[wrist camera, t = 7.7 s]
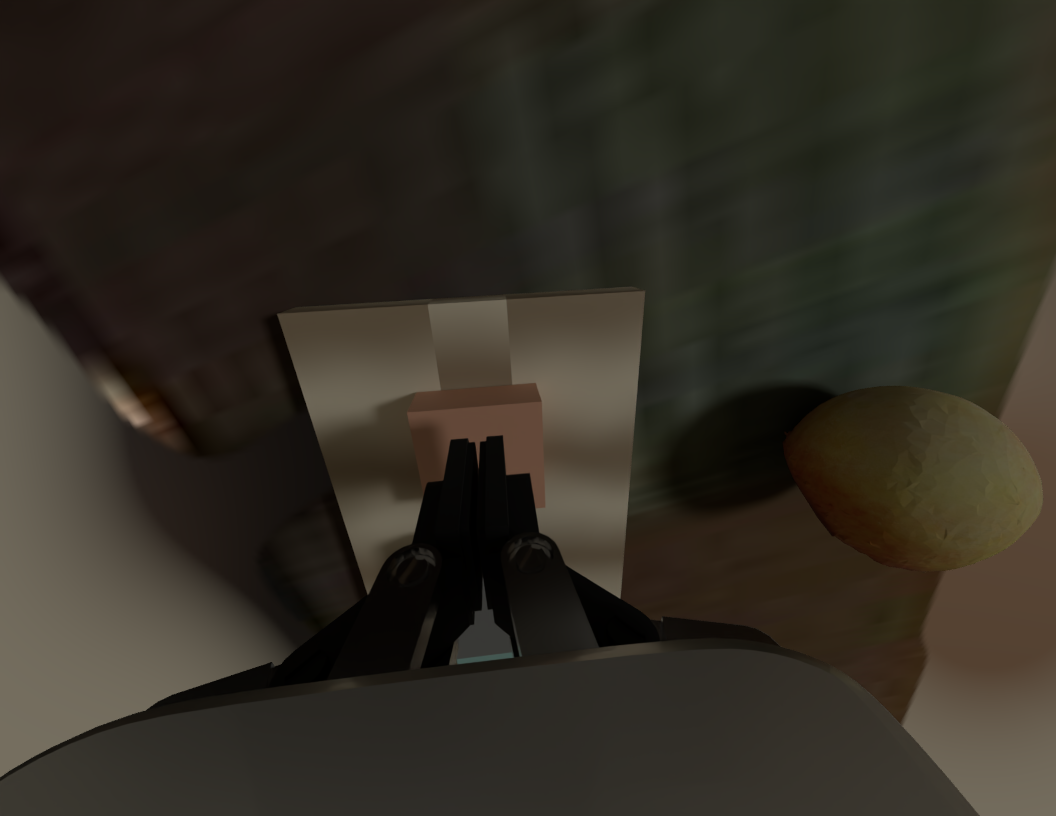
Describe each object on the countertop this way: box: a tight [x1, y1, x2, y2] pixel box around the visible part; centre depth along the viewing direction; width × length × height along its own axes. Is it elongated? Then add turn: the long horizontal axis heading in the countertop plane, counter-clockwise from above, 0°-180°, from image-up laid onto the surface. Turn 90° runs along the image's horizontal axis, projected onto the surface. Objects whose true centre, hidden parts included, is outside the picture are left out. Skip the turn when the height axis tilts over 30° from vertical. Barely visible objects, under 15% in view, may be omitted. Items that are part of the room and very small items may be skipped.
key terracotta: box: [407, 383, 545, 508], centre depth 16 cm, size 5×5×3 cm
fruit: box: [783, 386, 1043, 572], centre depth 17 cm, size 8×8×8 cm
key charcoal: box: [457, 580, 512, 659], centre depth 18 cm, size 5×5×3 cm
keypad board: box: [277, 287, 645, 665], centre depth 20 cm, size 26×14×2 cm, turn 3°
